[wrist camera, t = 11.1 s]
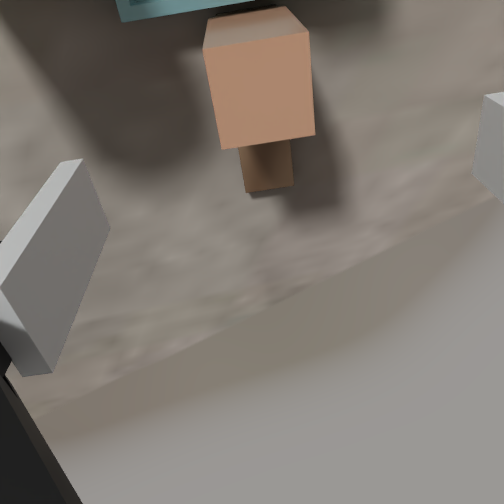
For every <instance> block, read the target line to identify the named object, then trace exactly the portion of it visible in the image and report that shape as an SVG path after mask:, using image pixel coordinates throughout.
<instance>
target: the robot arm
mask: <svg viewBox="0 0 504 504" xmlns="http://www.w3.org/2000/svg"><path fill="white" fill-rule="evenodd" d="M472 174H473V175H474V176H475V177H476V178H477V179H478V180H479V181H480V182H481V183H482V184H483V185H484V186H485V187H486V188H487V189H488V190H489V191H490V192H492V193H493V194H494V195H495V196H496V197H497V198H498V199H499V200H500V201H501V202H502V203H503V204H504V92H500V93H494V94H487V95H484V99H483V106H482V112H481V118H480V125H479V131H478V137H477V144H476V150H475V156H474V162H473V169H472ZM109 231H110V226H109V223H108V221H107V218H106V215H105V213H104V210H103V208H102V205H101V203H100V200H99V198H98V195H97V193H96V190H95V188H94V185H93V182H92V180H91V177H90V175H89V172H88V170H87V167H86V165H85V162H84V160H83V159H77V160H71V161H65V162H60V164H59V165H58V166H57V168H56V169H55V171H54V172H53V173H52V175H51V176H50V177H49V179H48V180H47V181H46V183H45V184H44V185H43V187H42V188H41V189H40V191H39V192H38V194H37V195H36V196H35V198H34V199H33V200H32V202H31V203H30V204H29V206H28V207H27V208H26V210H25V211H24V213H23V214H22V215H21V217H20V218H19V219H18V221H17V222H16V223H15V225H14V226H13V227H12V229H11V230H10V231H9V233H8V234H7V236H6V237H5V238H4V240H3V241H0V504H83V503H82V502H81V500H80V498H79V497H78V495H77V493H76V492H75V490H74V488H73V487H72V485H71V483H70V481H69V480H68V478H67V476H66V475H65V473H64V471H63V470H62V468H61V466H60V465H59V463H58V461H57V460H56V458H55V456H54V455H53V453H52V451H51V450H50V448H49V446H48V444H47V443H46V441H45V439H44V438H43V436H42V435H41V433H40V431H39V429H38V428H37V426H36V424H35V423H34V421H33V419H32V418H31V416H30V414H29V413H28V411H27V409H26V408H25V406H24V404H23V402H22V401H21V399H20V397H19V396H18V394H17V392H16V391H15V389H14V387H13V386H12V384H11V383H10V381H9V380H8V378H7V377H6V376H5V373H6V371H7V369H8V367H9V365H10V363H11V361H12V362H13V364H14V365H15V367H16V368H17V370H18V371H19V372H20V374H21V375H22V377H26V376H33V375H40V374H48V373H53V371H54V369H55V366H56V364H57V361H58V359H59V356H60V354H61V351H62V348H63V346H64V343H65V341H66V338H67V336H68V333H69V331H70V328H71V326H72V323H73V321H74V318H75V316H76V313H77V311H78V308H79V306H80V303H81V301H82V298H83V296H84V293H85V291H86V288H87V286H88V283H89V281H90V278H91V276H92V273H93V271H94V268H95V266H96V263H97V261H98V258H99V256H100V253H101V251H102V248H103V246H104V243H105V241H106V238H107V236H108V233H109Z"/></svg>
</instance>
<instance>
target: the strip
mask: <svg viewBox="0 0 504 504" xmlns="http://www.w3.org/2000/svg"><path fill="white" fill-rule="evenodd" d="M271 7H277V6H276V5H275V4H274V5H268V6H262V7H256V8H250V9H244V10H238V11H232V12H226V13H221V14H216V17H218V16H224V15H230V14H235V13H241V12H247V11H253V10H259V9H265V8H271ZM238 149H239V155H240V161H241V167H242V173H243V179H244V185H245V191H246V193H249V192H255V191H262V190H268V189H275V188H281V187H288V186H294V177H293V167H292V157H291V146H290V139H287V140H281V141H275V142H268V143H262V144H256V145H249V146H243V147H238Z"/></svg>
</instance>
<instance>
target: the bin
mask: <svg viewBox="0 0 504 504" xmlns="http://www.w3.org/2000/svg"><path fill="white" fill-rule="evenodd" d="M115 1H116V5H117V8H118V12H119V15H120V19H121V22H122V23H124V22H130V21H136V20H142V19H147V18H153V17H159V16H165V15H171V14H177V13H183V12H188V11H194V10H200V9H206V8H212V7H218V6H224V5H229V4H235V3H241V2H247V1H253V0H115Z"/></svg>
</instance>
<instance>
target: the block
mask: <svg viewBox="0 0 504 504" xmlns="http://www.w3.org/2000/svg"><path fill="white" fill-rule="evenodd" d="M202 50H203V55H204V60H205V66H206V71H207V76H208V81H209V86H210V91H211V96H212V102H213V107H214V112H215V117H216V122H217V127H218V133H219V138H220V143H221V148H222V150H224V149H230V148H236V147H243V146H249V145H256V144H262V143H268V142H275V141H281V140H287V139H294V138H300V137H306V136H313V135H315V122H314V106H313V90H312V74H311V57H310V41H309V31H308V30H307V29H306V28H305V27H304V26H303V25H302V24H301V22H300V21H299V20H298V19H297V18H296V17H295V16H294V15H293V14H292V13H291V12H290V11H289V9H288V8H287V7H286V6H285V5H283V6H277V7H271V8H265V9H259V10H253V11H247V12H241V13H235V14H230V15H224V16H218V17H212V18H208V23H207V28H206V33H205V38H204V43H203V49H202Z"/></svg>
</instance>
